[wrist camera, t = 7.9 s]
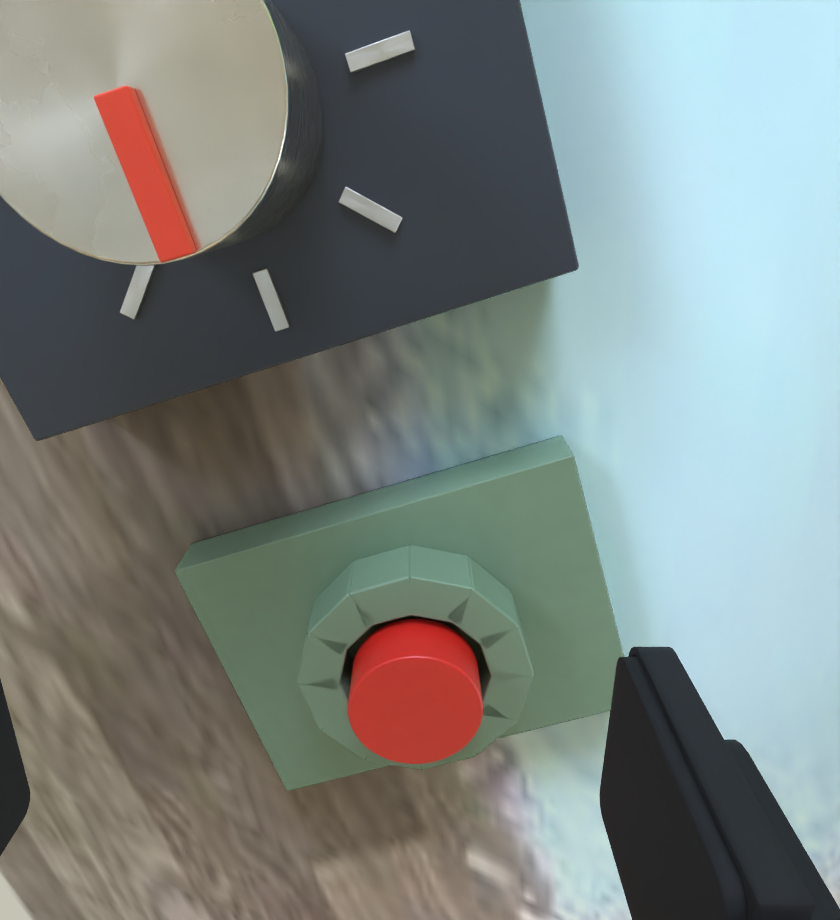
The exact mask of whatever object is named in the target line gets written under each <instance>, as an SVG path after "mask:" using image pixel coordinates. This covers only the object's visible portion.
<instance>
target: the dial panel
mask: <svg viewBox="0 0 840 920" xmlns="http://www.w3.org/2000/svg"><path fill="white" fill-rule="evenodd" d="M270 1H271V2H272V3H273V4H274V6H275V7H276V8H277V10H278V11H279V12H280V14H281V15H282V16H283V18H284V19H285V20H286V21H287V23H288V24H289V25H290V27H291V28H292V29H293V31H294V32H295V34H296V36H297V37H298V39H299V40H300V42H301V43H302V45H303V47H304V49H305V51H306V53H307V55H308V57H309V59H310V61H311V64H312V66H313V69H314V72H315V75H316V77H317V81H318V85H319V89H320V94H321V98H322V107H323V140H322V149H321V153H320V157H319V161H318V165H317V168H316V171H315V173H314V176H313V179H312V181H311V183H310V185H309V187H308V189H307V190H306V192H305V194H304V196H303V197H302V199H301V200H300V201H299V203H298V204H297V205H296V207H295V208H294V209H293V210H292V211H291V212H290V213H289V214H288V215H287V216H286V217H285V218H284V219H283V220H282V221H281V222H279V223H278V224H277V225H275V226H274V227H273V228H271V229H270V230H268V231H266V232H264V233H262V234H261V235H259V236H256V237H254V238H251V239H249V240H246V241H243V242H240V243H237V244H234V245H230V246H227V247H224V248H221V249H218V250H214V251H211V252H208V253H205V254H202V255H198V256H195V257H192V258H189V259H186V260H182V261H177V262H173V263H168V264H162V265H150V266H137V265H123V264H117V263H112V262H106V261H102V260H99V259H96V258H93V257H89V256H86V255H83V254H81V253H79V252H76V251H74V250H72V249H70V248H68V247H65V246H63V245H61V244H60V243H58V242H56V241H55V240H53V239H51V238H50V237H48V236H46V235H45V234H43V233H42V232H40V231H39V230H38V229H36V228H35V227H34V226H32V225H31V224H30V223H29V222H27V221H26V220H25V219H23V218H22V217H21V216H20V215H19V214H18V213H17V212H16V211H15V210H14V209H13V208H12V207H11V206H10V205H9V204H8V203H7V202H5V200H4V199H3V198H2V197H1V196H0V377H1V379H2V381H3V383H4V385H5V386H6V388H7V390H8V392H9V394H10V396H11V397H12V399H13V401H14V403H15V405H16V406H17V408H18V410H19V412H20V414H21V415H22V417H23V419H24V421H25V423H26V424H27V426H28V428H29V430H30V432H31V434H32V435H33V437H34V439H35V440H36V441H40V440H43V439H47V438H50V437H53V436H56V435H59V434H62V433H65V432H69V431H72V430H75V429H78V428H81V427H84V426H88V425H91V424H94V423H97V422H100V421H103V420H106V419H110V418H113V417H116V416H119V415H122V414H125V413H128V412H132V411H135V410H138V409H141V408H144V407H147V406H151V405H154V404H157V403H160V402H163V401H166V400H169V399H173V398H176V397H179V396H182V395H185V394H188V393H191V392H195V391H198V390H201V389H204V388H207V387H210V386H214V385H217V384H220V383H223V382H226V381H229V380H232V379H236V378H239V377H242V376H245V375H248V374H251V373H254V372H258V371H261V370H264V369H267V368H270V367H273V366H277V365H280V364H283V363H286V362H289V361H292V360H295V359H299V358H302V357H305V356H308V355H311V354H314V353H317V352H321V351H324V350H327V349H330V348H333V347H336V346H339V345H343V344H346V343H349V342H352V341H355V340H358V339H362V338H365V337H368V336H371V335H374V334H377V333H380V332H384V331H387V330H390V329H393V328H396V327H399V326H402V325H406V324H409V323H412V322H415V321H418V320H421V319H425V318H428V317H431V316H434V315H437V314H440V313H443V312H447V311H450V310H453V309H456V308H459V307H462V306H465V305H469V304H472V303H475V302H478V301H481V300H484V299H488V298H491V297H494V296H497V295H500V294H503V293H506V292H510V291H513V290H516V289H519V288H522V287H525V286H528V285H532V284H535V283H538V282H541V281H544V280H547V279H551V278H554V277H557V276H560V275H563V274H566V273H569V272H573V271H576V270H577V269H578V267H579V265H578V260H577V256H576V251H575V247H574V242H573V238H572V233H571V229H570V224H569V220H568V215H567V211H566V206H565V202H564V197H563V193H562V188H561V184H560V179H559V175H558V170H557V166H556V161H555V157H554V152H553V148H552V143H551V139H550V134H549V130H548V125H547V121H546V116H545V112H544V107H543V103H542V98H541V94H540V89H539V85H538V80H537V76H536V71H535V67H534V62H533V58H532V53H531V49H530V44H529V40H528V35H527V31H526V26H525V22H524V17H523V13H522V8H521V4H520V0H270Z"/></svg>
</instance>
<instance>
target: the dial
mask: <svg viewBox="0 0 840 920" xmlns="http://www.w3.org/2000/svg"><path fill="white" fill-rule="evenodd" d="M322 140H323V107H322V98H321V94H320V89H319V85H318V81H317V77H316V75H315V72H314V69H313V66H312V64H311V61H310V59H309V57H308V55H307V53H306V51H305V49H304V47H303V45H302V43H301V42H300V40H299V39H298V37H297V36H296V34H295V32H294V31H293V29H292V28H291V27H290V25H289V24H288V23H287V21H286V20H285V19H284V18H283V16H282V15H281V14H280V12H279V11H278V10H277V8H276V7H275V6H274V4H273V3H272V2H271V1H270V0H0V196H1V197H2V198H3V199H4V200H5V202H7V203H8V204H9V205H10V206H11V207H12V208H13V209H14V210H15V211H16V212H17V213H18V214H19V215H20V216H21V217H22V218H23V219H25V220H26V221H27V222H29V223H30V224H31V225H32V226H34V227H35V228H36V229H38V230H39V231H40V232H42V233H43V234H45V235H46V236H48V237H50V238H51V239H53V240H55V241H56V242H58V243H60V244H61V245H63V246H65V247H68V248H70V249H72V250H74V251H76V252H79V253H81V254H83V255H86V256H89V257H93V258H96V259H99V260H102V261H106V262H112V263H117V264H123V265H137V266H150V265H162V264H168V263H173V262H177V261H182V260H186V259H189V258H192V257H195V256H198V255H202V254H205V253H208V252H211V251H214V250H218V249H221V248H224V247H227V246H230V245H234V244H237V243H240V242H243V241H246V240H249V239H251V238H254V237H256V236H259V235H261V234H262V233H264V232H266V231H268V230H270V229H271V228H273V227H274V226H275V225H277V224H278V223H279V222H281V221H282V220H283V219H284V218H285V217H286V216H287V215H288V214H289V213H290V212H291V211H292V210H293V209H294V208H295V207H296V205H297V204H298V203H299V201H300V200H301V199H302V197H303V196H304V194H305V192H306V190H307V189H308V187H309V185H310V183H311V181H312V179H313V176H314V173H315V171H316V168H317V165H318V161H319V157H320V153H321V149H322Z"/></svg>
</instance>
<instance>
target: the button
mask: <svg viewBox="0 0 840 920" xmlns="http://www.w3.org/2000/svg"><path fill="white" fill-rule="evenodd" d="M482 716H483V701H482V693H481V686H480V678H479V671H478V663H477V659H476V656H475V654H474V651H473V649H472V648H471V646H470V645H469V643H468V642H467V641H466V640H465V639H464V638H463V637H462V636H461V635H460V634H459V633H458V632H456V631H455V630H453V629H452V628H450V627H448V626H446V625H444V624H441V623H439V622H435V621H431V620H425V619H405V620H400V621H395V622H392V623H389V624H387V625H385V626H383V627H381V628H379V629H378V630H376V631H374V632H373V633H372V634H371V635H370V636H368V637H367V639H366V640H365V641H364V642H363V643H362V644H361V646H360V647H359V649H358V651H357V653H356V655H355V658H354V661H353V668H352V676H351V684H350V691H349V699H348V718H349V722H350V725H351V727H352V729H353V731H354V733H355V735H356V736H357V738H358V739H359V740H360V742H361V743H362V744H363V745H364V746H365V747H367V748H368V749H369V750H370V751H372V752H374V753H375V754H377V755H379V756H381V757H383V758H385V759H388V760H391V761H394V762H399V763H406V764H425V763H431V762H436V761H439V760H442V759H445V758H447V757H450V756H452V755H453V754H455V753H457V752H458V751H460V750H461V749H462V748H464V747H465V746H466V745H467V744H468V743H469V742H470V741H471V740H472V738H473V737H474V736H475V734H476V732H477V731H478V728H479V726H480V724H481V720H482Z"/></svg>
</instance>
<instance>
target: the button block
mask: <svg viewBox="0 0 840 920" xmlns="http://www.w3.org/2000/svg"><path fill="white" fill-rule="evenodd" d="M175 574H176V576H177V578H178V580H179V582H180V584H181V586H182V588H183V589H184V591H185V593H186V595H187V597H188V599H189V601H190V603H191V605H192V607H193V609H194V611H195V613H196V615H197V617H198V619H199V621H200V623H201V625H202V627H203V629H204V630H205V632H206V634H207V636H208V638H209V640H210V642H211V644H212V646H213V648H214V650H215V652H216V654H217V656H218V658H219V660H220V662H221V664H222V666H223V668H224V670H225V671H226V673H227V675H228V677H229V679H230V681H231V683H232V685H233V687H234V689H235V691H236V693H237V695H238V697H239V699H240V701H241V703H242V705H243V707H244V709H245V711H246V712H247V714H248V716H249V718H250V720H251V722H252V724H253V726H254V728H255V730H256V732H257V734H258V736H259V738H260V740H261V742H262V744H263V746H264V748H265V750H266V752H267V753H268V755H269V757H270V759H271V761H272V763H273V765H274V767H275V769H276V771H277V773H278V775H279V777H280V779H281V781H282V783H283V785H284V787H285V789H286V790H287V791H289V790H293V789H297V788H301V787H305V786H309V785H313V784H317V783H321V782H325V781H329V780H333V779H337V778H341V777H345V776H349V775H353V774H357V773H361V772H365V771H369V770H373V769H377V768H381V767H385V766H389V765H395V766H401V767H407V768H413V769H422V770H423V769H427V768H431V767H435V766H439V765H443V764H447V763H451V762H455V761H459V760H463V759H467V758H471V757H474V756H475V755H478V754H479V753H480V752H481V751H483V750H484V749H485V748H486V747H487V746H489V745H490V744H491V743H492V742H493V741H495V740H496V739H498V738H502V737H506V736H510V735H514V734H518V733H522V732H526V731H530V730H534V729H538V728H542V727H546V726H550V725H554V724H558V723H562V722H566V721H570V720H574V719H578V718H582V717H586V716H590V715H594V714H598V713H602V712H606V711H610V710H611V702H612V695H613V687H614V680H615V672H616V665H617V660H618V658H619V657H624V654H623V650H622V646H621V642H620V638H619V634H618V630H617V626H616V622H615V618H614V614H613V610H612V606H611V602H610V598H609V594H608V590H607V586H606V582H605V578H604V574H603V570H602V566H601V562H600V558H599V554H598V550H597V546H596V542H595V538H594V534H593V530H592V526H591V522H590V518H589V514H588V510H587V506H586V502H585V498H584V494H583V490H582V486H581V482H580V478H579V474H578V470H577V466H576V462H575V458H574V455H573V454H572V452H571V450H570V449H569V447H568V445H567V444H566V442H565V440H564V438H563V437H562V436H557V437H554V438H550V439H547V440H544V441H540V442H537V443H533V444H530V445H527V446H523V447H520V448H516V449H513V450H509V451H506V452H503V453H499V454H496V455H492V456H489V457H486V458H482V459H479V460H475V461H472V462H469V463H465V464H462V465H458V466H455V467H451V468H448V469H445V470H441V471H438V472H434V473H431V474H428V475H424V476H421V477H417V478H414V479H411V480H407V481H404V482H400V483H397V484H393V485H390V486H387V487H383V488H380V489H376V490H373V491H370V492H366V493H363V494H359V495H356V496H352V497H349V498H346V499H342V500H339V501H335V502H332V503H329V504H325V505H322V506H318V507H315V508H312V509H308V510H305V511H301V512H298V513H294V514H291V515H288V516H284V517H281V518H277V519H274V520H271V521H267V522H264V523H260V524H257V525H254V526H250V527H247V528H243V529H240V530H236V531H233V532H230V533H226V534H223V535H219V536H216V537H213V538H209V539H206V540H202V541H199V542H196V543H192V544H191V545H190V546H189V548H188V550H187V551H186V553H185V554H184V556H183V558H182V559H181V561H180V562H179V564H178V566H177V567H176V569H175ZM405 619H425V620H431V621H435V622H439V623H441V624H444V625H446V626H448V627H450V628H452V629H453V630H455V631H456V632H458V633H459V634H460V635H461V636H462V637H463V638H464V639H465V640H466V641H467V642H468V643H469V645H470V646H471V648H472V649H473V651H474V654H475V656H476V659H477V663H478V671H479V678H480V686H481V693H482V701H483V716H482V720H481V724H480V726H479V728H478V731H477V732H476V734H475V736H474V737H473V738H472V740H471V741H470V742H469V743H468V744H467V745H466V746H465V747H464V748H462V749H461V750H460V751H458V752H457V753H455V754H453V755H452V756H450V757H447V758H445V759H442V760H439V761H436V762H431V763H425V764H406V763H399V762H394V761H391V760H388V759H385V758H383V757H381V756H379V755H377V754H375V753H374V752H372V751H370V750H369V749H368V748H367V747H365V746H364V745H363V744H362V743H361V742H360V740H359V739H358V738H357V736H356V735H355V733H354V731H353V729H352V727H351V725H350V722H349V718H348V699H349V691H350V684H351V676H352V668H353V661H354V658H355V655H356V653H357V651H358V649H359V647H360V646H361V644H362V643H363V642H364V641H365V640H366V639H367V637H368V636H370V635H371V634H372V633H373V632H374V631H376V630H378V629H379V628H381V627H383V626H385V625H387V624H389V623H392V622H395V621H400V620H405Z"/></svg>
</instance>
